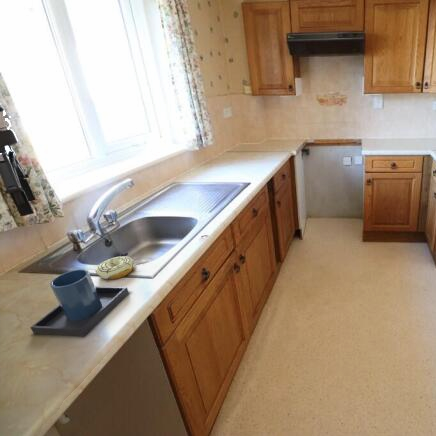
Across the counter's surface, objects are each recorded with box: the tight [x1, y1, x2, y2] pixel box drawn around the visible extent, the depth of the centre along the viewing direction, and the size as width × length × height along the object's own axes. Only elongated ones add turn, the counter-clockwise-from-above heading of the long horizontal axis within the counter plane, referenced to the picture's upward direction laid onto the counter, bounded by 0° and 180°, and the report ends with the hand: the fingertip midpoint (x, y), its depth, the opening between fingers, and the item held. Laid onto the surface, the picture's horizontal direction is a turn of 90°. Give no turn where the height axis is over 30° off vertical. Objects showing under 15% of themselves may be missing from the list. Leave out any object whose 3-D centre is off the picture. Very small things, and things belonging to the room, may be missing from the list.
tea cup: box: [49, 268, 102, 321], centre depth 87 cm, size 8×8×11 cm
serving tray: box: [29, 285, 130, 338], centre depth 89 cm, size 17×14×2 cm
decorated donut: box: [95, 255, 134, 281], centre depth 106 cm, size 10×11×4 cm
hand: (29, 207), depth 90 cm, fingers open, 13 cm apart
